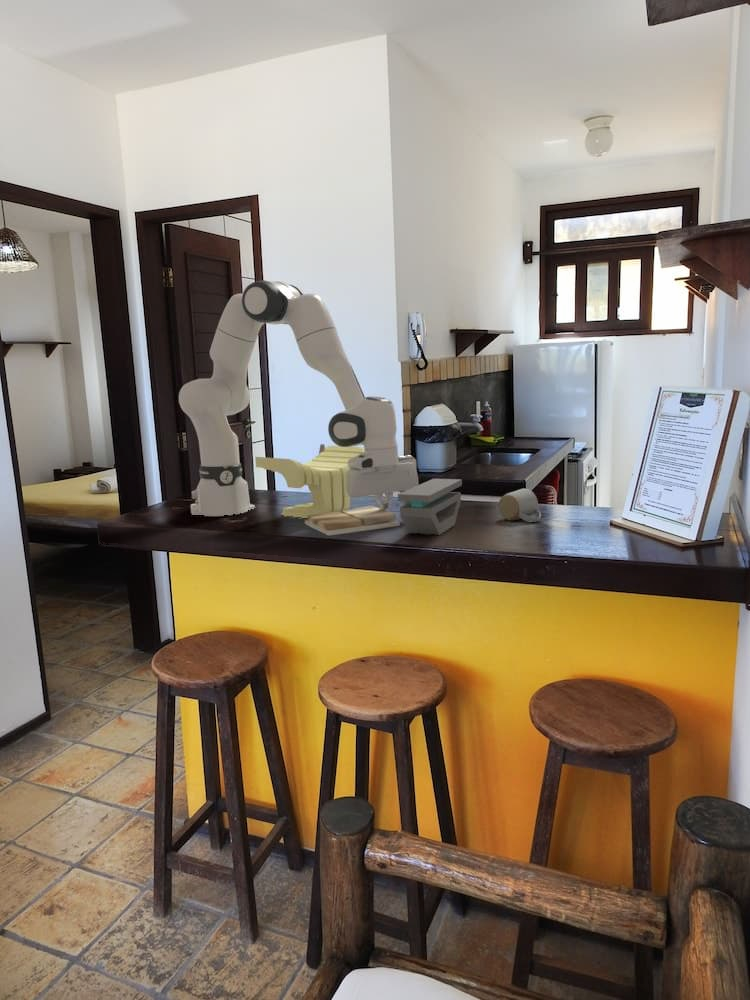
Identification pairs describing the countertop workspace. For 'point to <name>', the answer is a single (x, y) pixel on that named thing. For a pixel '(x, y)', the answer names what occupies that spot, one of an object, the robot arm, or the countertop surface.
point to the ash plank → (370, 515)
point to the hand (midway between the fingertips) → (384, 509)
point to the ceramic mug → (519, 505)
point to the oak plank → (334, 521)
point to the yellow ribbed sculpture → (317, 479)
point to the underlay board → (355, 529)
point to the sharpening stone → (431, 506)
